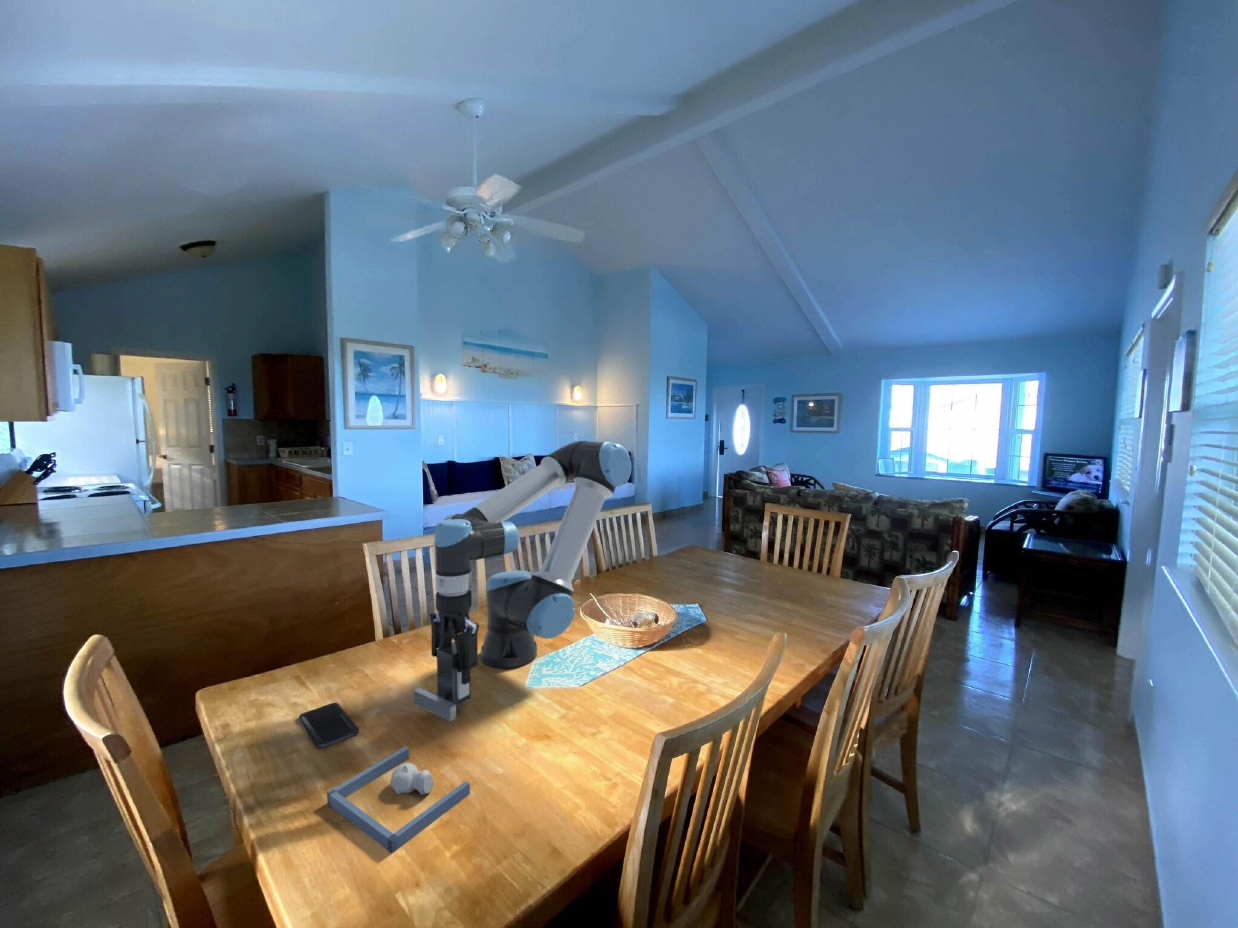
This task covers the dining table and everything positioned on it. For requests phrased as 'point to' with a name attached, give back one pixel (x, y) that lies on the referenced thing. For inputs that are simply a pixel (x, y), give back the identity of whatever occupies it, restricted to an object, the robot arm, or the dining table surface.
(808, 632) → the dining table surface
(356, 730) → the phone
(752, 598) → the dining table surface
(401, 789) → the pale two-lobed sculpture
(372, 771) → the frame
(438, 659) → the grey block with bar
